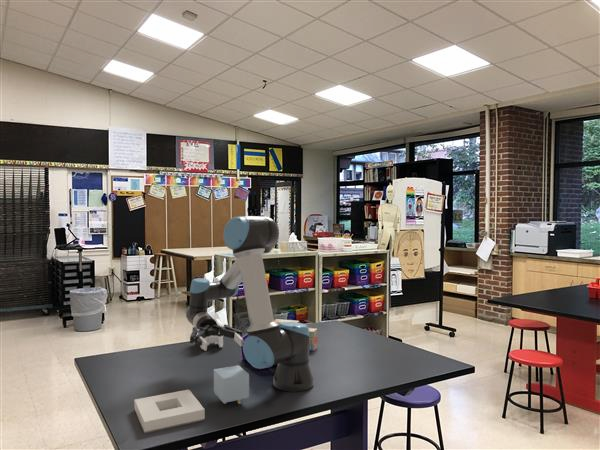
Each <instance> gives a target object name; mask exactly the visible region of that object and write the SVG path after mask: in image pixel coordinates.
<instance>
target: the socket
mask: <svg viewBox="0 0 600 450" xmlns="http://www.w3.org/2000/svg"><path fill="white" fill-rule="evenodd" d="M134 413H135V415H136V417H137V419H138V421H139V424H140V426H141V428H142V431H143V433H144V434H149V433H154V432H158V431H159V432H160V431H162V430H163V431H164V430H168V429H173V428H176V427H177V428H178V427H181V426H185V425H190V424H195V423H199V422H203V421H206V419H205V418H206V415H205V413H206V412H205V408H204V407H203V405H202V404H201V403H200V401H199V400H198V398H196V395H194V393H192V391H191V390H190V389H185V390H179V391H174V392H168V393H163V394H162V393H161V394H157V395H153V396H152V395H151V396H147V397H140V398H136V399H134Z"/></svg>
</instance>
